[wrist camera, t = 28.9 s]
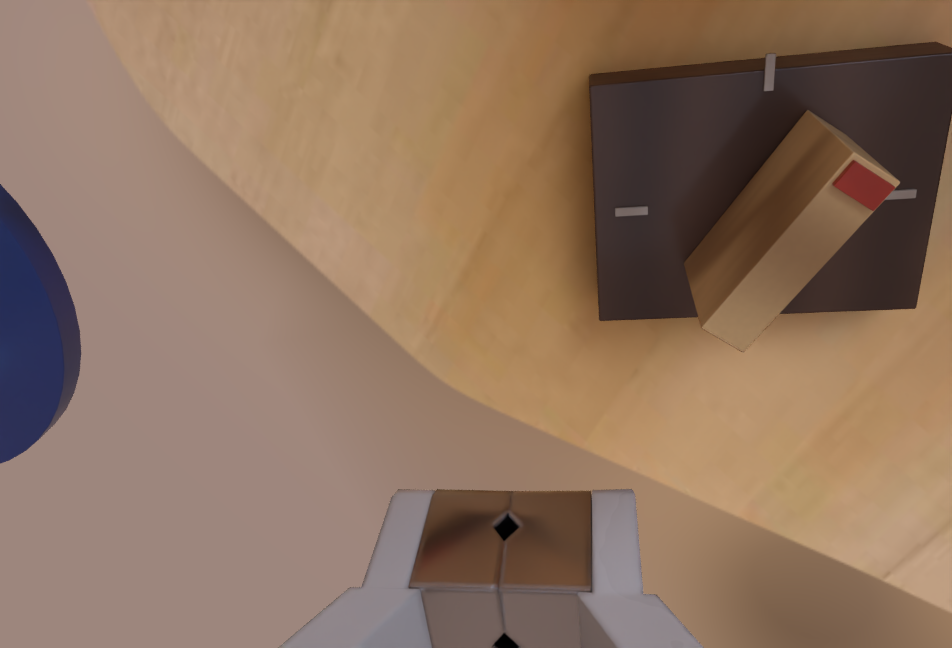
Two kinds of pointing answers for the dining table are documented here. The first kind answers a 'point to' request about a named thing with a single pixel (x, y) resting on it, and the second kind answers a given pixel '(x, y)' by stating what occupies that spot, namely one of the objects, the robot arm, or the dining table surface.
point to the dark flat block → (745, 151)
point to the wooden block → (783, 229)
